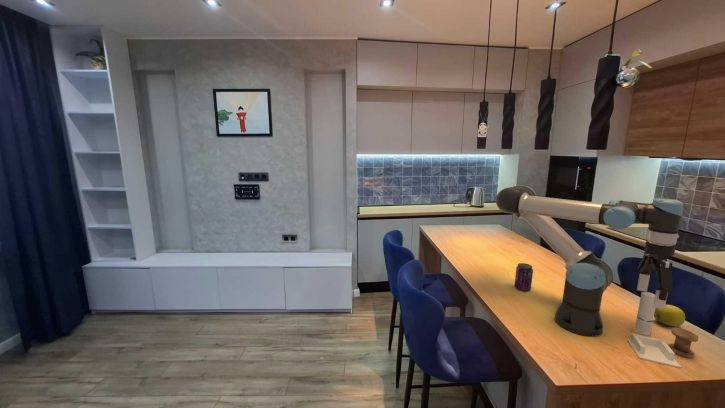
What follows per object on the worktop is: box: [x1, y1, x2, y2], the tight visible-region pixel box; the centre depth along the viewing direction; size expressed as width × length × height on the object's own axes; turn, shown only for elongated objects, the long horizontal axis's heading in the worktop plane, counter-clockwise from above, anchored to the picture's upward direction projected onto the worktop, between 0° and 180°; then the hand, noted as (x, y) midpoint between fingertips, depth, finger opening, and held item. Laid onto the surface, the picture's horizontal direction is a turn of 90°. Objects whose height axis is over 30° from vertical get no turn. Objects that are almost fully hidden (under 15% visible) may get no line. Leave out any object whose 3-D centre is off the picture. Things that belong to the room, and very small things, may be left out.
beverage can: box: [514, 262, 534, 292], centre depth 142 cm, size 7×7×12 cm
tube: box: [633, 291, 656, 336], centre depth 108 cm, size 4×4×15 cm
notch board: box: [627, 333, 682, 369], centre depth 98 cm, size 10×10×3 cm
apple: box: [654, 304, 686, 327], centre depth 113 cm, size 8×9×8 cm
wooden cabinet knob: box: [667, 327, 699, 359], centre depth 98 cm, size 6×6×7 cm
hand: (649, 298), depth 107 cm, fingers open, 13 cm apart
